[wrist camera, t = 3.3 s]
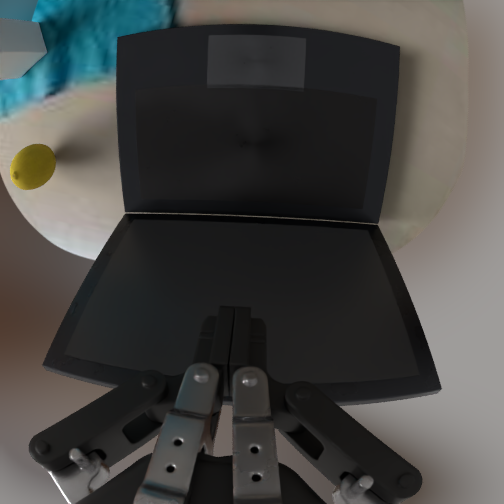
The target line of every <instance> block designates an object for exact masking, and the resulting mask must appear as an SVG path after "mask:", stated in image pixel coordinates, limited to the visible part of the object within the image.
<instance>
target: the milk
mask: <svg viewBox="0 0 504 504" xmlns="http://www.w3.org/2000/svg"><path fill="white" fill-rule="evenodd" d="M46 53H47V50H46V46H45V43H44V40H43V36H42V33H41V29H40V26H39V23H38V22H32V21H23V20H16V19H6V18H0V80H5V79H14V78H21V77H22V76H23V75H24V74H25V73H26V72H27V71H28V70H29V69H30V68H31V67H32V66H33V65H34V64H35V63H36V62H37V61H38V60H40V59H41V58H42V57H43V56H44V55H45V54H46Z"/></svg>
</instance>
